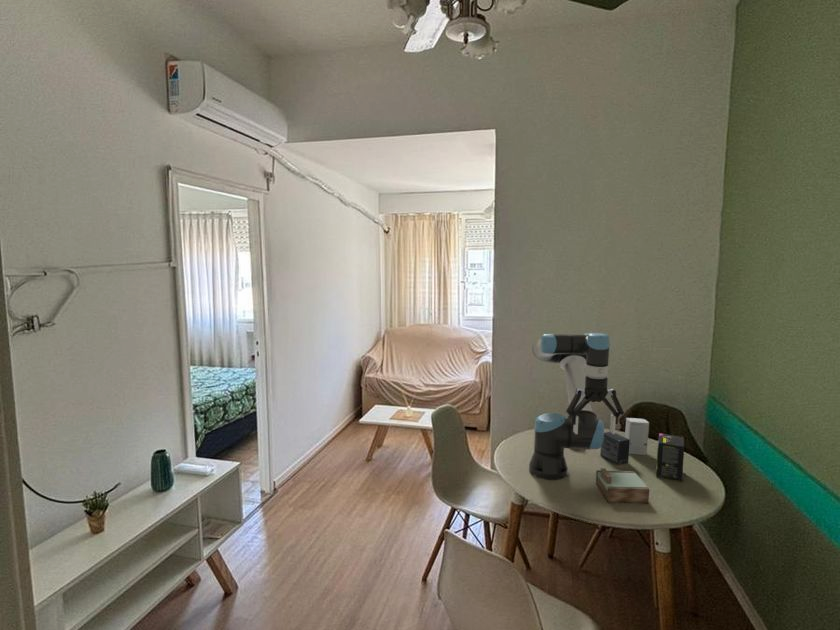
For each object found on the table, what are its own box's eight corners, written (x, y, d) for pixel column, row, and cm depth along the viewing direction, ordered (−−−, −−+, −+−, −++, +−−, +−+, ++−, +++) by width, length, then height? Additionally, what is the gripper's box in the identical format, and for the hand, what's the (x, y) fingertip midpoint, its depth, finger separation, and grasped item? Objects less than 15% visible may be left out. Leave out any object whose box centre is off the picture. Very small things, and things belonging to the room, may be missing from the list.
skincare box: (628, 454, 210) (629, 422, 208) (623, 448, 216) (625, 417, 214) (647, 455, 209) (649, 422, 207) (642, 449, 215) (644, 417, 213)
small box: (629, 463, 202) (631, 439, 200) (617, 465, 199) (618, 441, 198) (611, 453, 211) (612, 430, 210) (599, 455, 209) (600, 432, 208)
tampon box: (656, 466, 199) (658, 432, 197) (681, 470, 194) (684, 436, 192) (655, 477, 189) (657, 441, 187) (682, 482, 185) (684, 446, 183)
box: (608, 502, 169) (608, 488, 169) (595, 483, 183) (596, 470, 183) (648, 503, 169) (649, 489, 168) (632, 484, 183) (633, 471, 182)
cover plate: (607, 490, 170) (607, 479, 170) (597, 475, 181) (597, 465, 181) (647, 491, 170) (648, 480, 169) (634, 476, 181) (635, 466, 180)
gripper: (565, 379, 168) (563, 436, 171) (635, 378, 168) (632, 436, 171) (558, 373, 175) (556, 429, 178) (626, 373, 176) (623, 428, 179)
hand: (593, 432), depth 175 cm, fingers open, 13 cm apart
